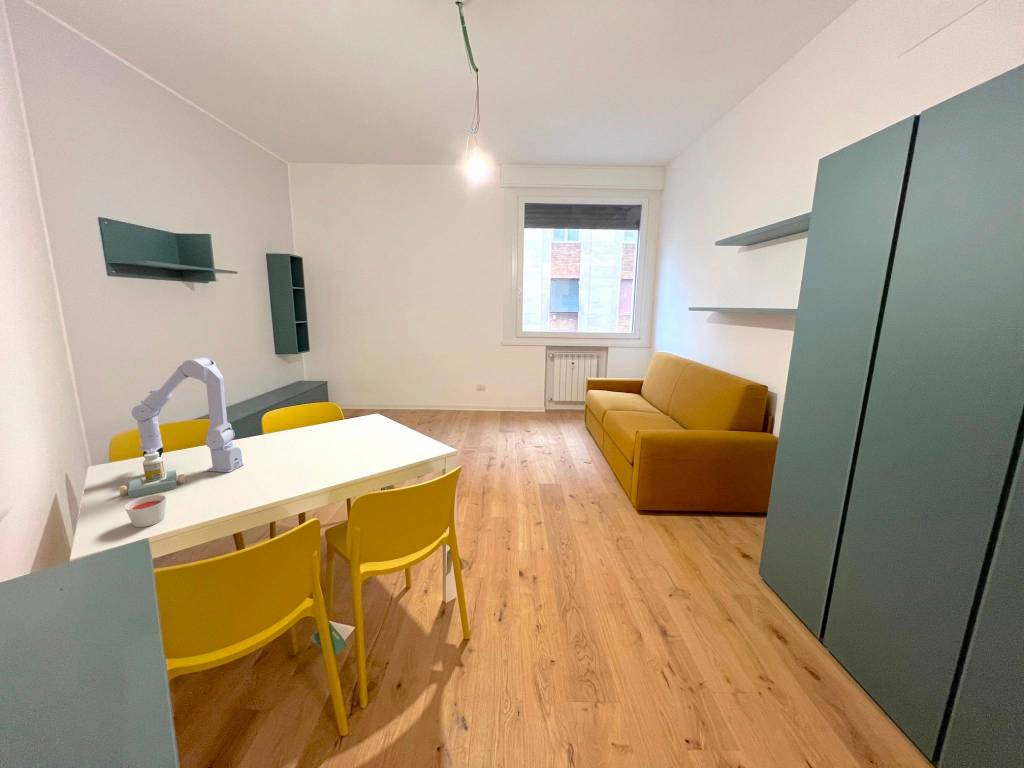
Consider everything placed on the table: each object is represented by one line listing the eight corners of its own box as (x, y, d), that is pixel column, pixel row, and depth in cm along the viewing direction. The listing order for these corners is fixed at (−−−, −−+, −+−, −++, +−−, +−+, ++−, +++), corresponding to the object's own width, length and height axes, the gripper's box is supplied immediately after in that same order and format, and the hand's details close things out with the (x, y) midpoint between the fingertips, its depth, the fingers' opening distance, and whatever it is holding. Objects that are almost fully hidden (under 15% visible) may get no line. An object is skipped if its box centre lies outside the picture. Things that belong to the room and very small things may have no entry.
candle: (130, 533, 111) (126, 513, 110) (126, 521, 117) (123, 502, 116) (171, 521, 118) (168, 501, 117) (166, 510, 124) (163, 491, 123)
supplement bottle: (153, 475, 148) (149, 450, 146) (169, 475, 148) (165, 450, 146) (141, 481, 142) (137, 456, 140) (157, 481, 143) (153, 456, 141)
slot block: (123, 486, 138) (121, 479, 138) (185, 474, 149) (183, 467, 148) (119, 500, 129) (117, 491, 129) (185, 486, 140) (183, 478, 139)
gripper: (137, 431, 151) (143, 464, 153) (133, 442, 140) (140, 477, 142) (161, 428, 155) (167, 460, 158) (160, 438, 144) (165, 472, 147)
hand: (156, 468), depth 150 cm, fingers closed
